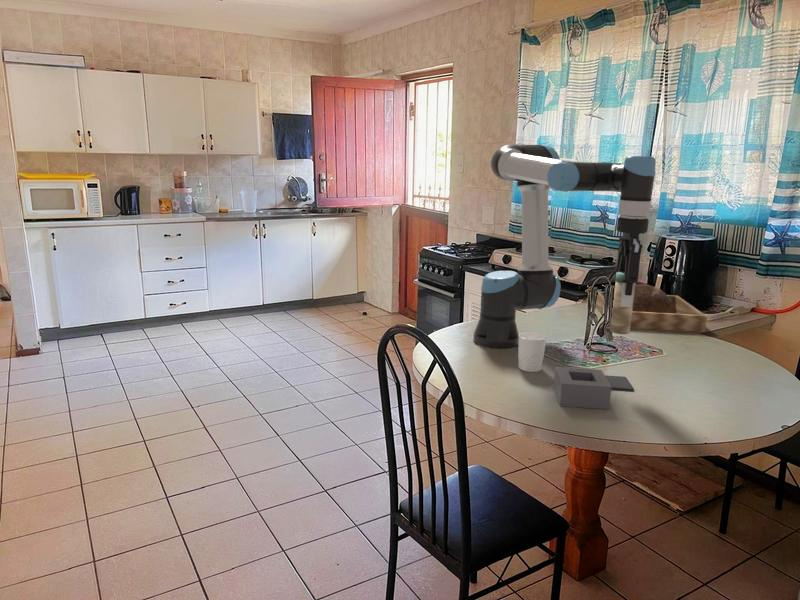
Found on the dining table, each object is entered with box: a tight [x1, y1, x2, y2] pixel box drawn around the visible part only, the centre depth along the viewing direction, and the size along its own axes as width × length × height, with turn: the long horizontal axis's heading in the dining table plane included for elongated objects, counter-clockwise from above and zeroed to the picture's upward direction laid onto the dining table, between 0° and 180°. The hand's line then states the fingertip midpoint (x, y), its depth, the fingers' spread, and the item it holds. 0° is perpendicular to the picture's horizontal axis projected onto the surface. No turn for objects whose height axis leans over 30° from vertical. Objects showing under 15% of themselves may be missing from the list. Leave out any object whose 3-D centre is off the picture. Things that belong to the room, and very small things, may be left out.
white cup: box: [517, 331, 547, 373], centre depth 173 cm, size 8×8×10 cm
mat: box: [604, 374, 635, 392], centre depth 164 cm, size 9×9×1 cm
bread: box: [632, 283, 677, 314], centre depth 232 cm, size 26×27×13 cm
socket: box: [553, 366, 612, 410], centre depth 153 cm, size 12×12×6 cm
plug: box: [609, 272, 637, 335], centre depth 158 cm, size 5×5×16 cm
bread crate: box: [595, 291, 708, 333], centre depth 231 cm, size 33×32×6 cm
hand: (622, 303), depth 158 cm, fingers closed on plug, 5 cm apart
